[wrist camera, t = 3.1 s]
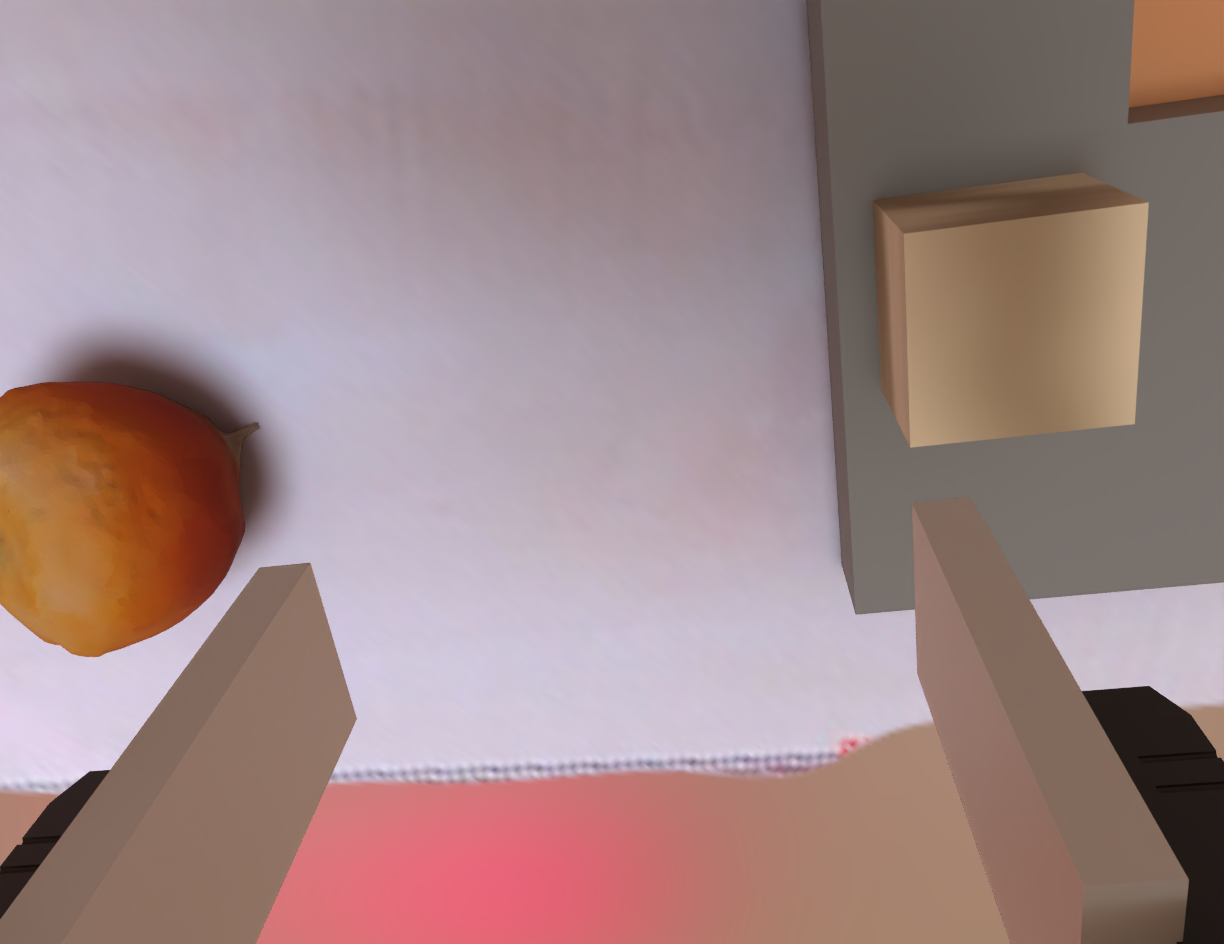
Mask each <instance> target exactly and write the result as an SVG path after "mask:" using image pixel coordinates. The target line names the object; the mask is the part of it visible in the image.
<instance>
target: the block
mask: <svg viewBox="0 0 1224 944" xmlns="http://www.w3.org/2000/svg"><path fill="white" fill-rule="evenodd" d="M1148 207H1149V202H1147V201H1144V200H1142V199H1140V198H1138V197H1136V196H1133V195H1131V194H1129V193H1127V192H1124V191H1122V190H1120V189H1118V188H1116V187H1113V186H1111V185H1109V184H1107V183H1105V182H1102V181H1100V180H1098V179H1096V178H1093V177H1091V176H1089V175H1087V174H1085V173H1075V174H1068V175H1060V176H1052V177H1045V178H1037V179H1030V180H1022V181H1015V182H1007V183H999V184H992V185H984V186H977V187H969V188H961V189H954V190H946V191H939V192H931V193H924V194H916V195H908V196H901V197H893V198H886V199H878V200H873V211H874V235H875V259H876V283H877V307H878V331H879V354H880V378H881V390H882V392H883V394H884V396H885V398H886V400H887V402H888V404H889V406H890V408H891V410H892V412H893V414H894V416H895V418H896V420H897V422H898V424H899V426H900V428H901V430H902V432H903V434H904V436H905V438H906V440H907V442H908V444H909V446H910V448H912V447H921V446H931V445H940V444H950V443H959V442H969V441H979V440H988V439H998V438H1007V437H1017V436H1026V435H1036V434H1045V433H1055V432H1064V431H1074V430H1083V429H1093V428H1103V427H1112V426H1122V425H1131V424H1135V413H1136V397H1137V381H1138V365H1139V349H1140V334H1141V318H1142V302H1143V286H1144V270H1145V255H1146V239H1147V223H1148Z"/></svg>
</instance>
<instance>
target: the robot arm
mask: <svg viewBox="0 0 1224 944" xmlns="http://www.w3.org/2000/svg"><path fill="white" fill-rule="evenodd" d="M912 522H913V554H914V585H915V617H916V649H917V674H918V677H919V680H920V683H921V686H922V688H923V691H924V694H925V697H926V700H927V703H928V706H929V709H930V712H931V715H932V718H933V720H934V723H935V726H936V729H937V732H938V735H939V738H940V741H941V744H942V747H943V749H944V752H945V755H946V758H947V761H948V764H949V767H950V770H951V773H952V776H953V779H954V781H955V784H956V787H957V790H958V793H959V796H960V799H961V802H962V805H963V808H964V811H965V813H966V816H967V819H968V822H969V825H970V828H971V831H972V834H973V837H974V840H975V843H976V846H977V848H978V851H979V854H980V857H981V860H982V863H983V866H984V869H985V872H986V875H987V878H988V880H989V883H990V886H991V889H992V892H993V895H994V898H995V901H996V904H997V907H998V910H999V912H1000V915H1001V918H1002V921H1003V923H1004V927H1005V930H1006V933H1007V936H1008V939H1009V941H1010V944H1224V761H1223V760H1222V759H1221V758H1218V757H1217V755H1216V750H1215V749H1214V747H1213V746H1212V744H1211V743H1210V741H1209V740H1208V739H1207V737H1206V736H1205V735H1204V733H1203V731H1202V730H1201V729H1200V727H1199V726H1198V725H1197V723H1196V722H1195V720H1194V719H1193V717H1192V716H1191V715H1190V714H1189V713H1187V712H1186V711H1184V710H1183V709H1181V708H1180V707H1179V706H1177V705H1176V704H1174V703H1173V702H1171V701H1170V700H1168V699H1167V698H1166V697H1164V696H1163V695H1161V694H1160V693H1158V692H1157V691H1155V690H1154V689H1153V688H1151V687H1150V686H1143V687H1131V688H1118V689H1105V690H1092V691H1081V689H1080V688H1079V686H1078V684H1077V682H1076V681H1075V679H1074V677H1073V675H1072V674H1071V672H1070V670H1069V668H1068V667H1067V665H1066V663H1065V661H1064V660H1063V658H1062V656H1061V654H1060V653H1059V651H1058V649H1057V647H1056V646H1055V644H1054V642H1053V640H1052V639H1051V637H1050V635H1049V633H1048V632H1047V630H1046V628H1045V626H1044V625H1043V623H1042V621H1041V619H1040V618H1039V616H1038V614H1037V612H1036V611H1035V609H1034V607H1033V605H1032V604H1031V602H1030V600H1029V598H1028V596H1027V595H1026V593H1025V591H1024V589H1023V588H1022V586H1021V584H1020V582H1019V581H1018V579H1017V577H1016V575H1015V574H1014V572H1013V570H1012V568H1011V567H1010V565H1009V563H1008V561H1007V560H1006V558H1005V556H1004V554H1003V553H1002V551H1001V549H1000V547H999V546H998V544H997V542H996V540H995V539H994V537H993V535H992V533H991V532H990V530H989V528H988V526H987V525H986V523H985V521H984V519H983V518H982V516H981V514H980V512H979V511H978V509H977V507H976V505H975V503H974V502H973V500H972V498H971V497H964V498H954V499H944V500H934V501H924V502H914V503H912ZM356 719H357V718H356V715H355V711H354V708H353V705H352V701H351V698H350V695H349V691H348V688H347V684H346V681H345V678H344V674H343V671H342V668H341V664H340V661H339V658H338V654H337V651H336V647H335V644H334V641H333V637H332V634H331V631H330V627H329V624H328V621H327V617H326V614H325V611H324V607H323V604H322V600H321V597H320V594H319V590H318V587H317V584H316V580H315V577H314V574H313V570H312V567H311V564H310V563H302V564H292V565H282V566H272V567H262V568H259V569H258V570H257V572H256V573H255V574H254V576H253V577H252V578H251V580H250V581H249V583H248V584H247V585H246V587H245V588H244V589H243V591H242V592H241V593H240V595H239V596H238V597H237V599H236V600H235V602H234V603H233V604H232V606H231V607H230V608H229V610H228V611H227V612H226V614H225V615H224V616H223V618H222V619H221V621H220V622H219V623H218V625H217V626H216V627H215V629H214V630H213V631H212V633H211V634H210V635H209V637H208V638H207V640H206V641H205V642H204V644H203V645H202V646H201V648H200V649H199V650H198V652H197V653H196V654H195V656H194V657H193V659H192V660H191V661H190V663H189V664H188V665H187V667H186V668H185V669H184V671H183V672H182V673H181V675H180V676H179V678H178V679H177V680H176V682H175V683H174V684H173V686H172V687H171V688H170V690H169V691H168V692H167V694H166V695H165V697H164V698H163V699H162V701H161V702H160V703H159V705H158V706H157V707H156V709H155V710H154V711H153V713H152V714H151V716H150V717H149V718H148V720H147V721H146V722H145V724H144V725H143V726H142V728H141V729H140V730H139V732H138V733H137V735H136V736H135V737H134V739H133V740H132V741H131V743H130V744H129V745H128V747H127V748H126V749H125V751H124V752H123V754H122V755H121V756H120V758H119V759H118V760H117V762H116V763H115V764H114V766H113V767H112V768H111V770H103V771H90V772H88V773H87V774H86V775H85V776H83V777H82V778H81V779H80V780H78V781H77V782H76V783H74V784H73V785H72V786H71V787H69V788H68V789H67V790H66V791H64V792H63V793H62V794H61V795H59V796H58V797H57V798H56V799H54V800H53V801H52V802H51V803H49V805H48V806H47V807H46V809H45V810H44V811H43V812H42V814H41V815H40V816H39V817H38V819H37V820H36V821H35V823H34V824H33V825H32V826H31V828H30V829H29V830H28V832H27V833H26V834H25V836H24V837H23V843H22V845H17V846H16V847H15V848H14V850H13V851H12V852H11V853H10V855H9V856H8V857H7V858H6V860H5V861H4V862H3V864H2V865H1V866H0V944H256V942H257V939H258V937H259V935H260V933H261V931H262V928H263V926H264V924H265V922H266V919H267V917H268V915H269V913H270V910H271V908H272V906H273V904H274V902H275V899H276V897H277V895H278V893H279V890H280V888H281V886H282V884H283V882H284V879H285V877H286V875H287V873H288V870H289V868H290V866H291V864H292V861H293V859H294V857H295V855H296V853H297V851H298V848H299V846H300V844H301V842H302V839H303V837H304V835H305V833H306V830H307V828H308V826H309V824H310V822H311V819H312V817H313V815H314V813H315V810H316V808H317V806H318V804H319V801H320V799H321V797H322V795H323V793H324V790H325V788H326V786H327V784H328V782H329V779H330V777H331V775H332V773H333V770H334V768H335V766H336V764H337V762H338V759H339V757H340V755H341V753H342V750H343V748H344V746H345V744H346V741H347V739H348V737H349V735H350V733H351V730H352V728H353V726H354V724H355V721H356Z"/></svg>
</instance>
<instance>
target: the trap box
mask: <svg viewBox="0 0 1224 944" xmlns="http://www.w3.org/2000/svg"><path fill="white" fill-rule="evenodd" d="M807 13H808V29H809V45H810V61H811V77H812V93H813V109H814V125H815V142H816V158H817V174H818V190H819V206H820V222H821V238H822V254H823V270H824V286H825V302H826V318H827V334H828V350H829V366H830V382H831V399H832V415H833V431H834V447H835V463H836V479H837V495H838V511H839V527H840V543H841V559H842V567H843V570H844V574H845V578H846V581H847V585H848V588H849V592H850V596H851V599H852V603H853V606H854V610H855V614H867V613H879V612H890V611H901V610H913V609H915V585H914V554H913V522H912V503H914V502H924V501H934V500H944V499H954V498H964V497H971V498H972V500H973V502H974V503H975V505H976V507H977V509H978V511H979V512H980V514H981V516H982V518H983V519H984V521H985V523H986V525H987V526H988V528H989V530H990V532H991V533H992V535H993V537H994V539H995V540H996V542H997V544H998V546H999V547H1000V549H1001V551H1002V553H1003V554H1004V556H1005V558H1006V560H1007V561H1008V563H1009V565H1010V567H1011V568H1012V570H1013V572H1014V574H1015V575H1016V577H1017V579H1018V581H1019V582H1020V584H1021V586H1022V588H1023V589H1024V591H1025V593H1026V595H1027V596H1028V598H1029V599H1039V598H1050V597H1061V596H1073V595H1084V594H1096V593H1107V592H1118V591H1130V590H1141V589H1153V588H1164V587H1176V586H1187V585H1198V584H1210V583H1221V582H1224V0H807ZM1075 173H1085V174H1087V175H1089V176H1091V177H1093V178H1096V179H1098V180H1100V181H1102V182H1105V183H1107V184H1109V185H1111V186H1113V187H1116V188H1118V189H1120V190H1122V191H1124V192H1127V193H1129V194H1131V195H1133V196H1136V197H1138V198H1140V199H1142V200H1144V201H1147V202H1149V207H1148V223H1147V239H1146V255H1145V270H1144V286H1143V302H1142V318H1141V334H1140V349H1139V365H1138V381H1137V397H1136V413H1135V424H1131V425H1122V426H1112V427H1103V428H1093V429H1083V430H1074V431H1064V432H1055V433H1045V434H1036V435H1026V436H1017V437H1007V438H998V439H988V440H979V441H969V442H959V443H950V444H940V445H931V446H921V447H912V448H910V446H909V444H908V442H907V440H906V438H905V436H904V434H903V432H902V430H901V428H900V426H899V424H898V422H897V420H896V418H895V416H894V414H893V412H892V410H891V408H890V406H889V404H888V402H887V400H886V398H885V396H884V394H883V392H882V390H881V378H880V354H879V331H878V307H877V283H876V259H875V235H874V211H873V200H878V199H886V198H893V197H901V196H908V195H916V194H924V193H931V192H939V191H946V190H954V189H961V188H969V187H977V186H984V185H992V184H999V183H1007V182H1015V181H1022V180H1030V179H1037V178H1045V177H1052V176H1060V175H1068V174H1075Z"/></svg>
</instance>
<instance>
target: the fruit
mask: <svg viewBox="0 0 1224 944" xmlns="http://www.w3.org/2000/svg"><path fill="white" fill-rule="evenodd" d="M257 424H258V423H253V424H251V425H250V426H246V427H244V428H242V429H240V430H236V431H234V432H233V433H224V432H222V431H219V430H218V429H217V428H216V427H215V426H214V425H213V423H212V422H211V421H210V420H209V419H208V418H207V417H206V416H204V415H203V414H201V413H199V412H196V411H194V410H192V409H189V408H187V407H185V406H182V405H180V404H178V403H176V402H173V401H171V400H169V399H167V398H165V397H162V396H160V395H158V394H156V393H154V392H151V391H146V390H140V389H136V388H133V387H129V386H125V385H119V384H113V383H90V382H63V383H61V382H47V383H39V384H34V385H30V386H24V387H18V388H14V389H11V390H8V391H7V392H6V393H5V394H4V395H3V396H2V397H0V604H1V605H2V606H3V607H4V608H5V609H6V610H7V611H8V612H9V613H10V614H11V615H13V616H14V617H15V618H16V619H17V620H18V621H20V622H21V623H22V624H23V625H24V626H26V627H27V628H28V629H29V630H30V631H32V632H33V633H34V634H35V635H37V636H38V637H39V638H40V639H42V640H43V641H45V642H47V643H51V644H54V645H61V646H62V647H63V648H65V649H66V650H67V651H69V652H70V653H71V654H74V655H78V656H85V657H99V656H101V655H103V654H105V653H108V652H111V651H115V650H118V649H121V648H124V647H127V646H129V645H132V644H135V643H137V642H140V641H142V640H145V639H148V638H150V637H153V636H155V635H157V634H159V633H161V632H163V631H165V630H167V629H169V628H171V627H173V626H174V625H176V624H177V623H179V622H181V621H182V620H184V619H185V618H186V617H187V616H189V615H190V614H191V613H192V612H193V611H195V610H196V609H197V608H198V607H199V606H200V605H202V604H203V603H204V602H205V601H206V600H207V599H208V598H209V597H210V596H211V595H212V594H213V593H214V591H215V590H216V589H217V587H218V586H219V585H220V583H221V582H222V581H223V579H224V578H225V576H226V574H227V573H228V571H229V569H230V567H231V565H232V562H233V560H234V557H235V555H236V553H237V550H238V548H239V546H240V543H241V541H242V538H243V535H244V532H245V522H244V517H243V512H242V508H241V500H240V456H241V445H242V441H243V438H244V437H246V436H247V435H249V434H251V433H252V432H254V431H255V430H257V429H259V428H260V427H257Z"/></svg>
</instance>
